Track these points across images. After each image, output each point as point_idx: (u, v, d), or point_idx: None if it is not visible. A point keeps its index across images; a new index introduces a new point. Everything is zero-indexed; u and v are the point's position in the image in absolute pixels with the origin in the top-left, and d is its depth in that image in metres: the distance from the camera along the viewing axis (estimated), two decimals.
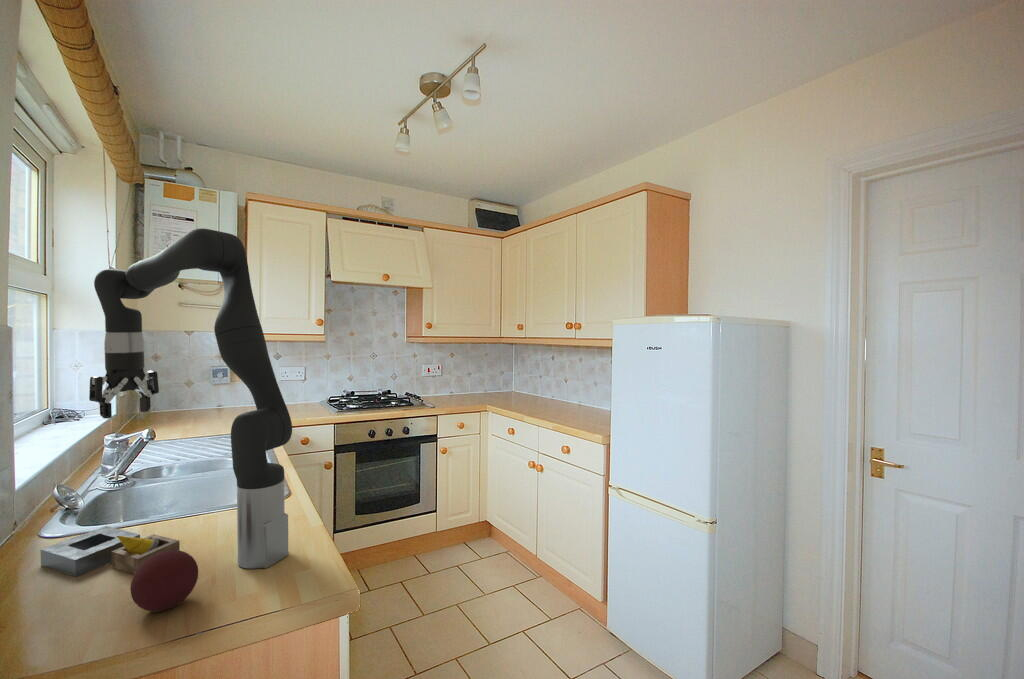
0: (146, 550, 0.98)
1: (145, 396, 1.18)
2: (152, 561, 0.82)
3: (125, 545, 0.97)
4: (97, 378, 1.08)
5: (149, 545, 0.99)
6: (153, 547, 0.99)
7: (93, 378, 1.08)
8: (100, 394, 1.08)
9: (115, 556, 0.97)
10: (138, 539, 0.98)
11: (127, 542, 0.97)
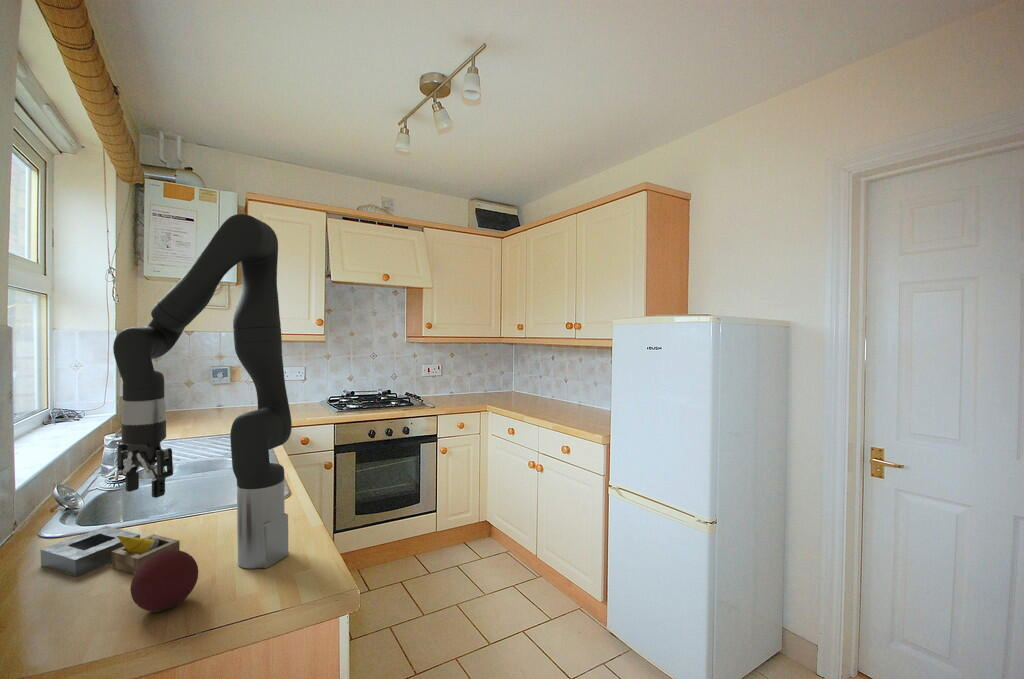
0: (146, 550, 0.98)
1: (135, 471, 1.01)
2: (152, 561, 0.82)
3: (125, 545, 0.97)
4: (170, 450, 0.97)
5: (149, 545, 0.99)
6: (153, 547, 0.99)
7: (165, 452, 0.96)
8: None
9: (115, 556, 0.97)
10: (138, 539, 0.98)
11: (127, 542, 0.97)
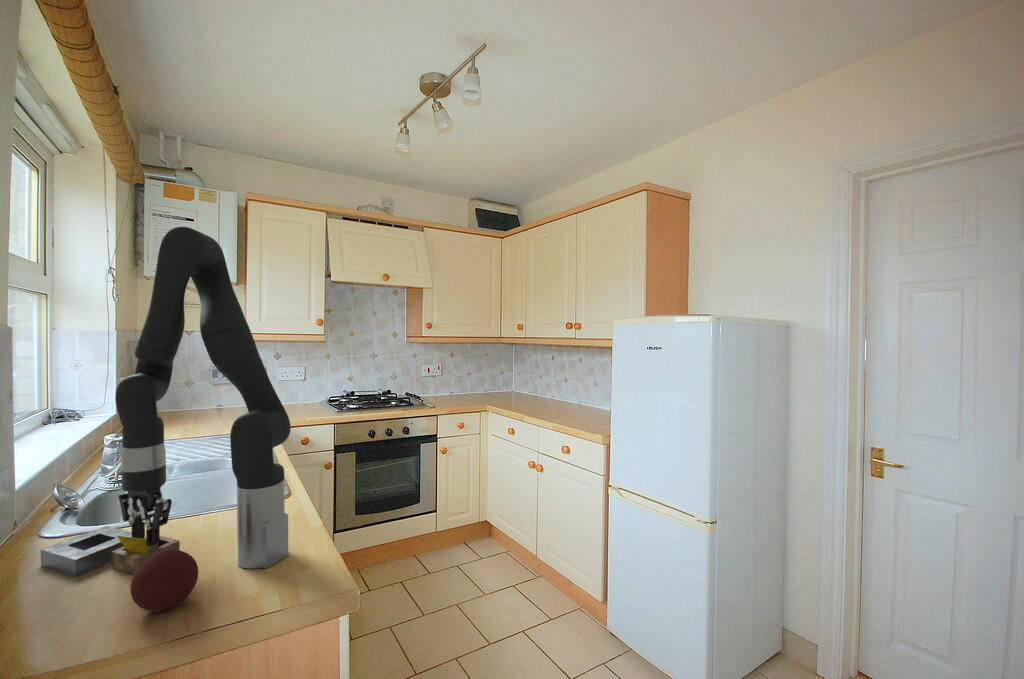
0: (146, 550, 0.98)
1: (141, 521, 1.01)
2: (152, 561, 0.82)
3: (125, 545, 0.97)
4: (170, 501, 0.98)
5: None
6: (153, 547, 0.99)
7: (165, 504, 0.97)
8: None
9: (115, 556, 0.97)
10: (138, 539, 0.98)
11: (127, 542, 0.97)
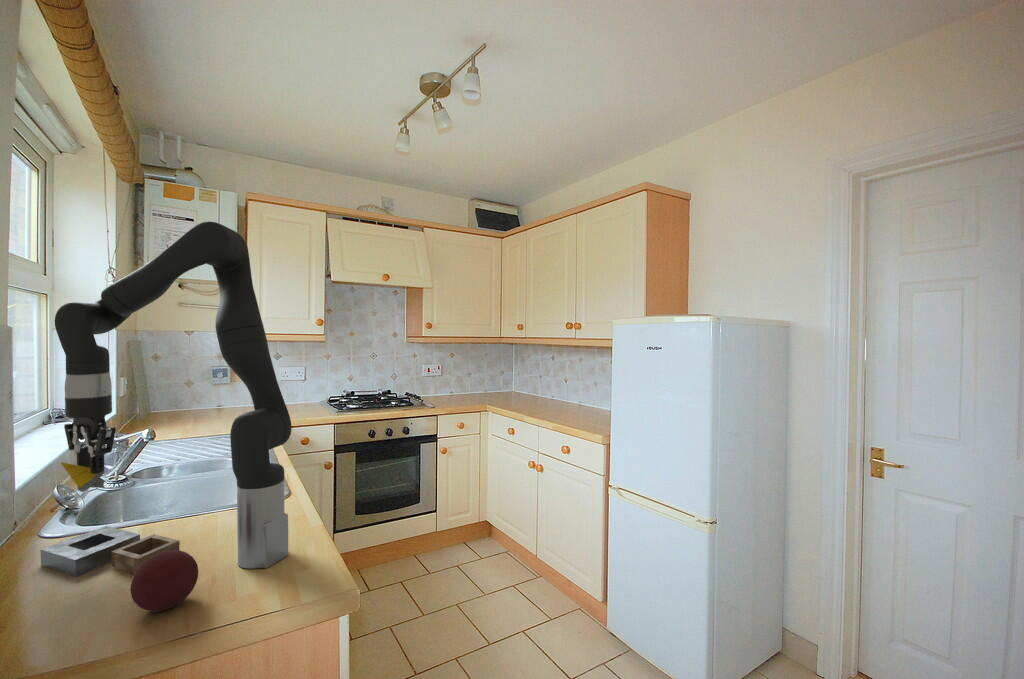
0: (90, 478, 0.99)
1: (87, 451, 1.02)
2: (152, 561, 0.82)
3: (69, 472, 0.98)
4: (114, 429, 0.99)
5: (94, 474, 1.00)
6: (98, 476, 1.00)
7: (108, 431, 0.98)
8: None
9: (115, 556, 0.97)
10: (83, 467, 0.99)
11: (71, 469, 0.98)
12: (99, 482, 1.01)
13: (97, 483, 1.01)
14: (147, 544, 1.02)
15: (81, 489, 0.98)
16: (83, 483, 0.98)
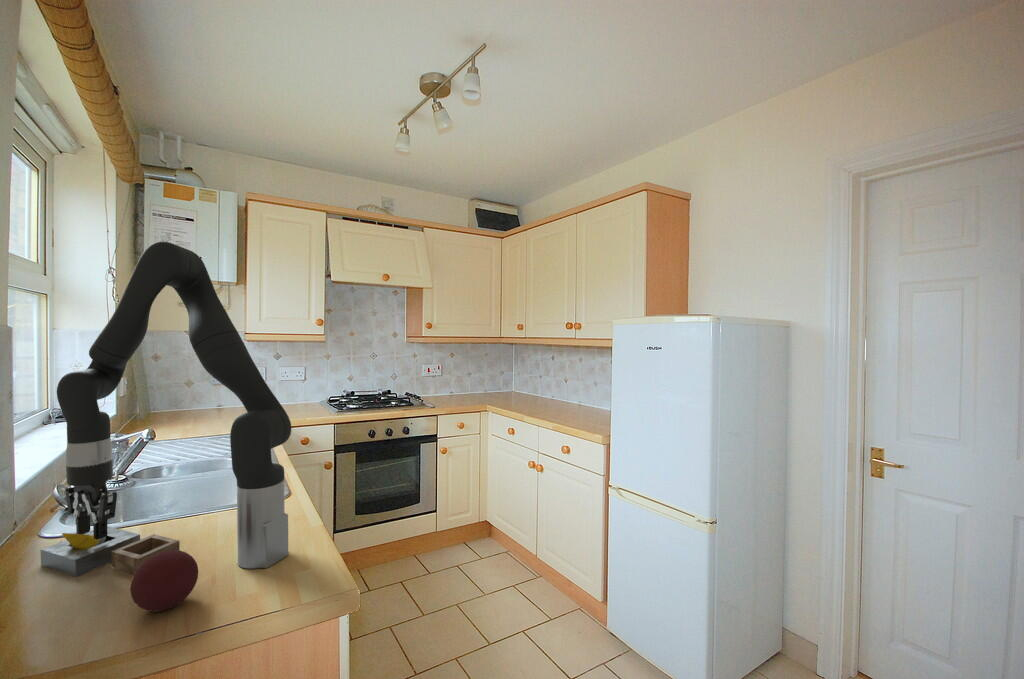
0: (92, 546, 0.99)
1: (86, 514, 1.02)
2: (152, 561, 0.82)
3: (70, 542, 0.98)
4: (115, 494, 0.99)
5: (95, 541, 1.00)
6: (99, 543, 1.00)
7: (110, 496, 0.98)
8: None
9: (115, 556, 0.97)
10: (84, 536, 1.00)
11: (72, 539, 0.98)
12: None
13: None
14: (147, 544, 1.02)
15: None
16: None
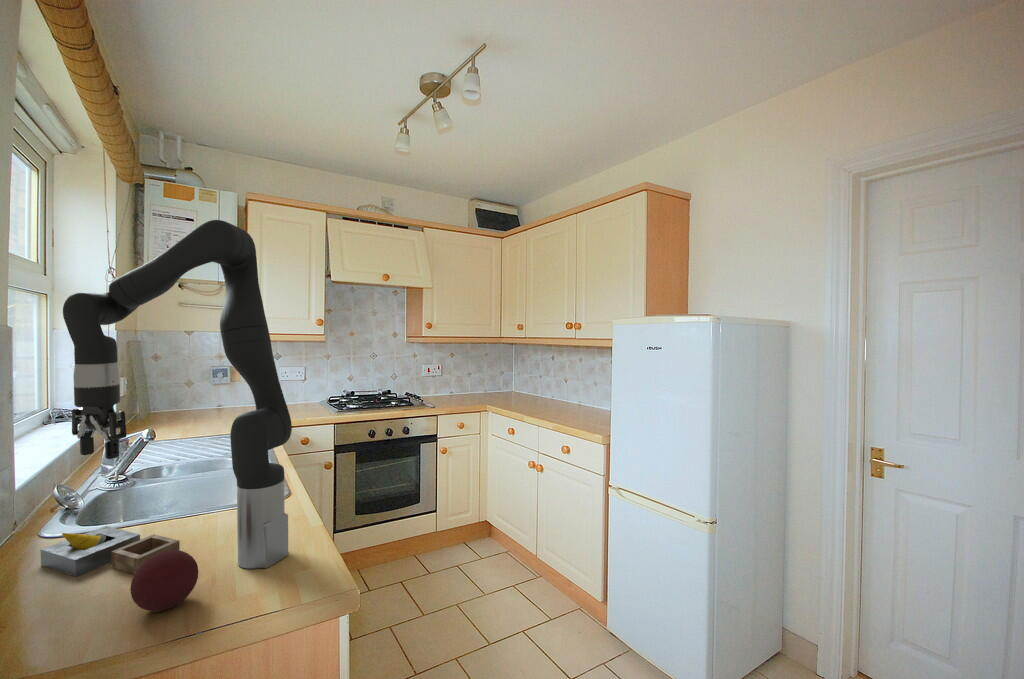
0: (92, 546, 0.99)
1: (90, 436, 1.03)
2: (152, 560, 0.82)
3: (70, 542, 0.98)
4: (123, 412, 1.00)
5: (95, 541, 1.00)
6: (99, 543, 1.00)
7: (118, 413, 0.99)
8: None
9: (115, 556, 0.97)
10: (84, 536, 1.00)
11: (72, 539, 0.98)
12: None
13: None
14: (147, 544, 1.02)
15: None
16: None
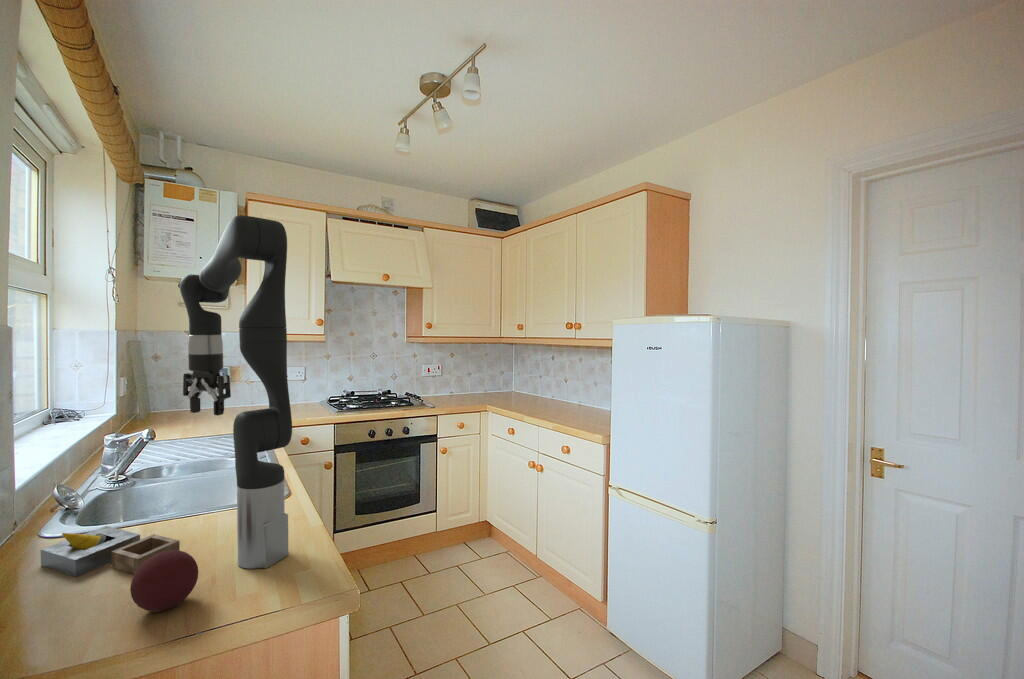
0: (92, 546, 0.99)
1: (197, 396, 1.22)
2: (152, 561, 0.82)
3: (70, 542, 0.98)
4: (228, 376, 1.18)
5: (95, 541, 1.00)
6: (99, 543, 1.00)
7: (224, 377, 1.17)
8: None
9: (115, 556, 0.97)
10: (84, 536, 1.00)
11: (72, 539, 0.98)
12: None
13: None
14: (147, 544, 1.02)
15: None
16: None
